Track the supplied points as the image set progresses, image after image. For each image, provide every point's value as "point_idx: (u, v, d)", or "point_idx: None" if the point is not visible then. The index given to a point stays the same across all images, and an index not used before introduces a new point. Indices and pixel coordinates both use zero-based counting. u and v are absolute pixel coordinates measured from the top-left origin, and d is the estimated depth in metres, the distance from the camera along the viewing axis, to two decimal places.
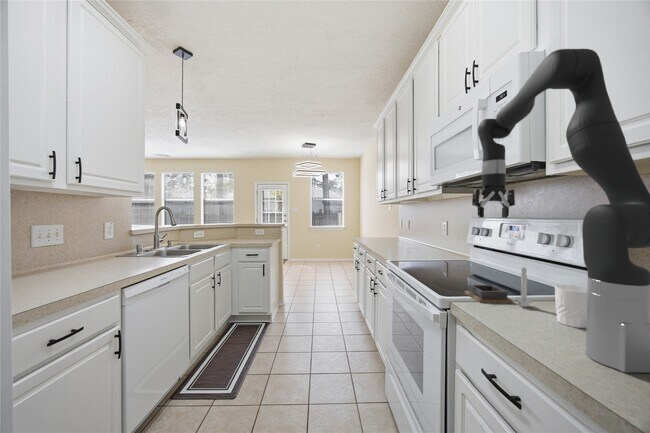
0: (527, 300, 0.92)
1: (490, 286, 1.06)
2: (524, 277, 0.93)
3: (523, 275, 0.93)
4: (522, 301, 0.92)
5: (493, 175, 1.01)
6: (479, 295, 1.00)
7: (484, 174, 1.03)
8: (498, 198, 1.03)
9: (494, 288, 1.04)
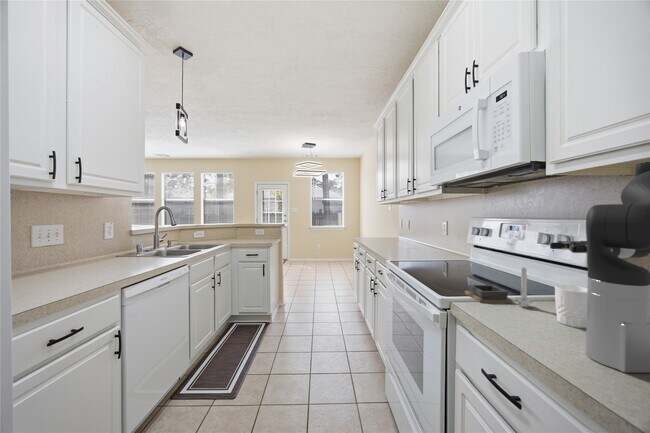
0: (527, 300, 0.92)
1: (490, 286, 1.06)
2: (524, 277, 0.93)
3: (523, 275, 0.93)
4: (522, 301, 0.92)
5: None
6: (479, 295, 1.00)
7: None
8: (585, 244, 0.92)
9: (494, 288, 1.04)
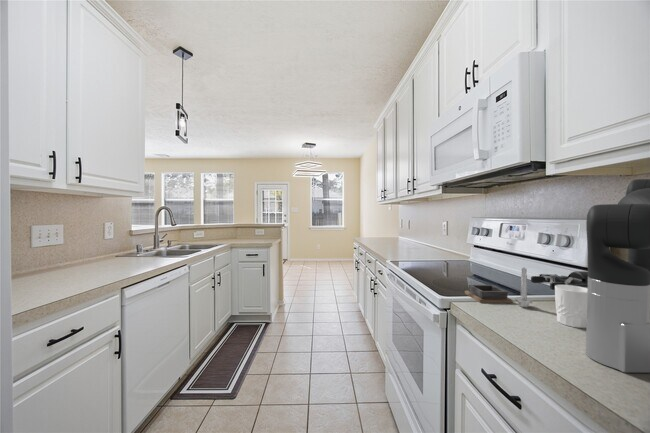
0: (527, 300, 0.92)
1: (490, 286, 1.06)
2: (524, 277, 0.93)
3: (523, 275, 0.93)
4: (522, 301, 0.92)
5: None
6: (479, 295, 1.00)
7: None
8: (565, 280, 0.92)
9: (494, 288, 1.04)
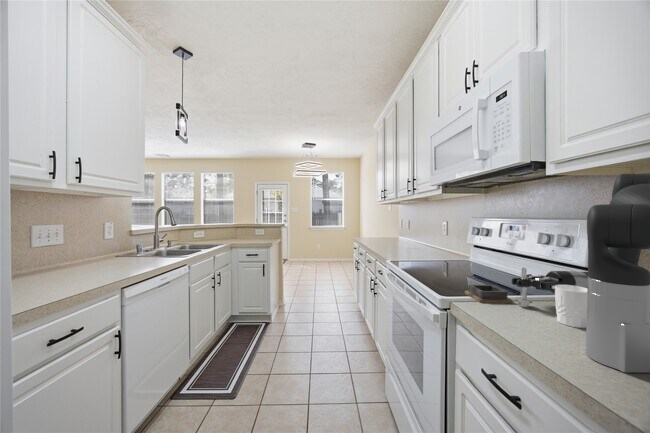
0: (527, 300, 0.92)
1: (490, 286, 1.06)
2: (524, 277, 0.93)
3: (523, 275, 0.93)
4: (522, 301, 0.92)
5: None
6: (479, 295, 1.00)
7: None
8: None
9: (494, 288, 1.04)
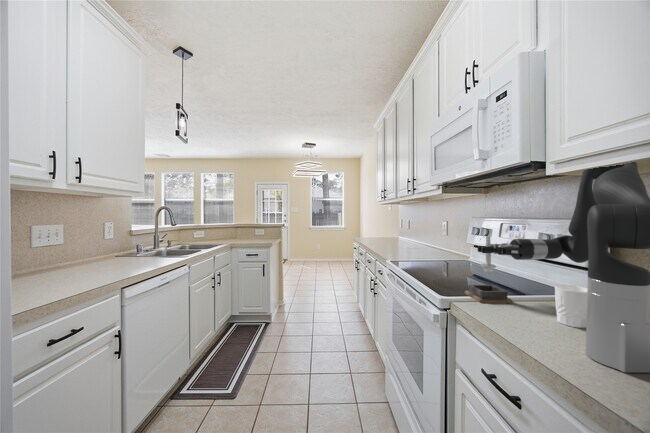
0: (491, 265, 1.01)
1: (490, 286, 1.06)
2: (488, 244, 1.02)
3: (487, 243, 1.02)
4: (486, 266, 1.01)
5: None
6: (479, 295, 1.00)
7: None
8: None
9: (494, 288, 1.04)
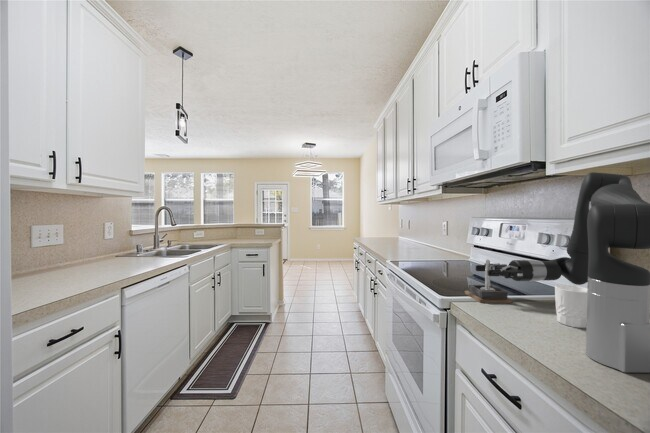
0: (490, 289, 1.02)
1: (490, 286, 1.06)
2: (487, 268, 1.02)
3: (487, 266, 1.02)
4: (486, 290, 1.01)
5: None
6: (479, 295, 1.00)
7: None
8: None
9: (494, 288, 1.04)
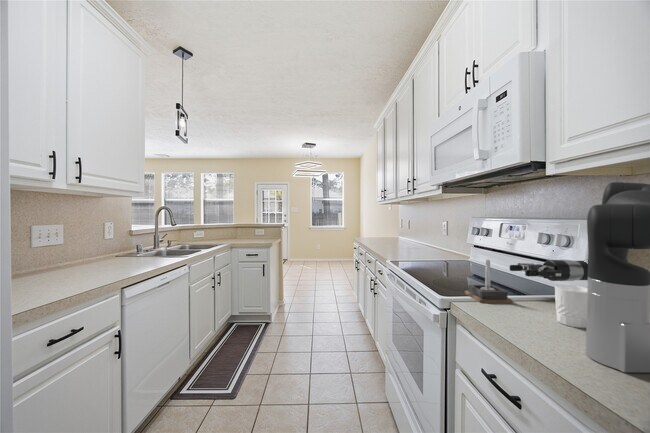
0: (490, 289, 1.02)
1: (490, 286, 1.06)
2: (487, 268, 1.02)
3: (487, 266, 1.02)
4: (486, 290, 1.01)
5: None
6: (479, 295, 1.00)
7: None
8: (539, 268, 1.01)
9: (494, 288, 1.04)
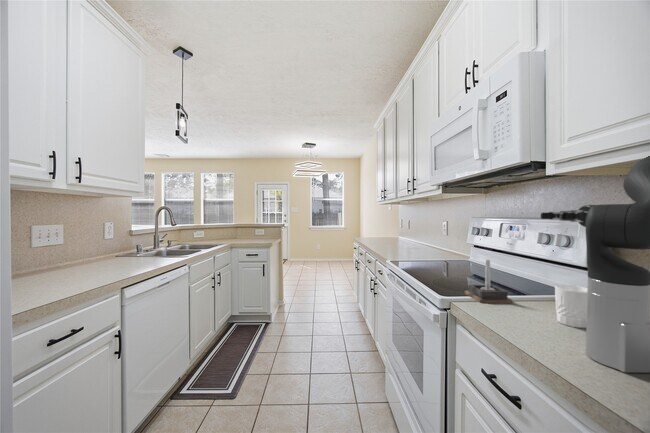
0: (490, 289, 1.02)
1: (490, 286, 1.06)
2: (487, 268, 1.02)
3: (487, 266, 1.02)
4: (486, 290, 1.01)
5: None
6: (479, 295, 1.00)
7: None
8: None
9: (494, 288, 1.04)
